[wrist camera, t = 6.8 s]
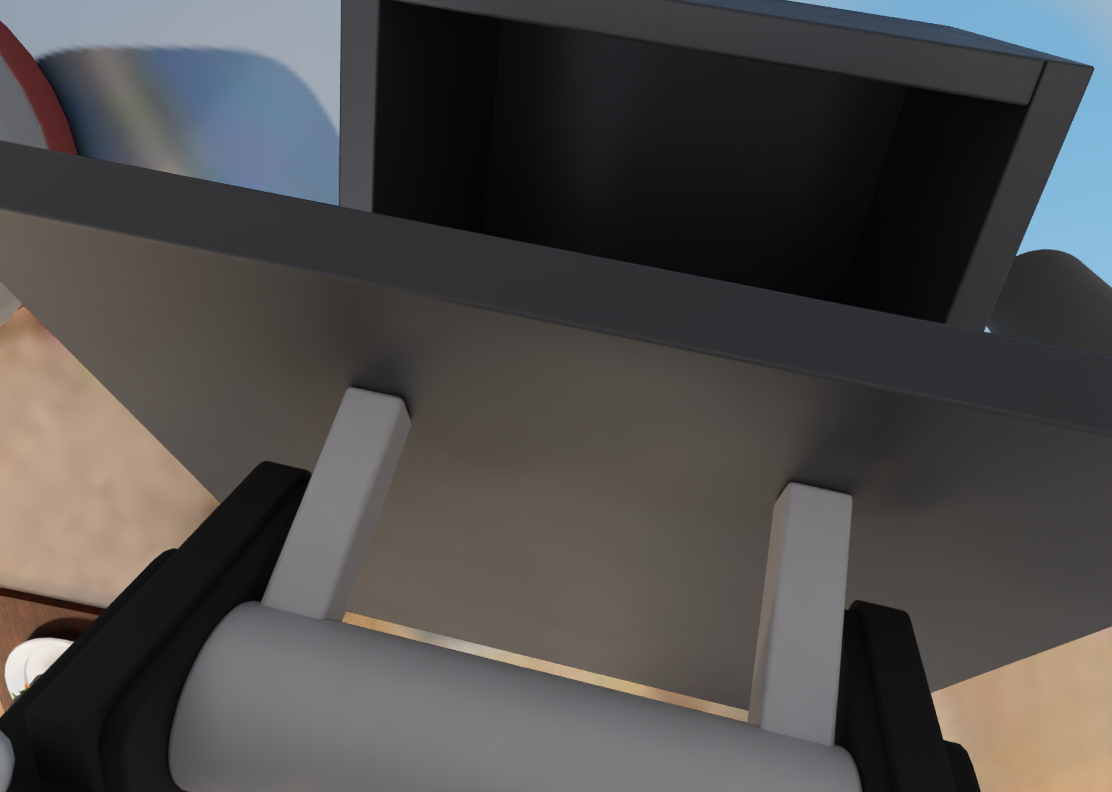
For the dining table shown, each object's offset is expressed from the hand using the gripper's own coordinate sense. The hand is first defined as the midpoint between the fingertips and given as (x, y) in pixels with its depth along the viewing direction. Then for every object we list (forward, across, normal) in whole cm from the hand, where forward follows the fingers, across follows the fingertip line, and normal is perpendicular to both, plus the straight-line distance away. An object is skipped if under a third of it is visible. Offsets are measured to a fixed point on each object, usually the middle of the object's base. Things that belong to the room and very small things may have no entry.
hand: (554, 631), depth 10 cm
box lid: (+4, 0, +2) cm, 5 cm away
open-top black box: (+20, 0, +1) cm, 20 cm away
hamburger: (+20, +25, +31) cm, 45 cm away
